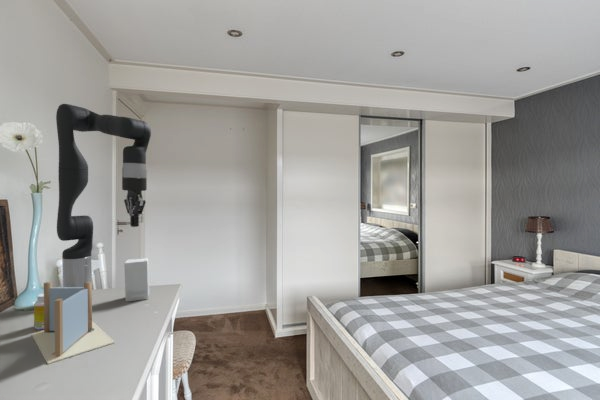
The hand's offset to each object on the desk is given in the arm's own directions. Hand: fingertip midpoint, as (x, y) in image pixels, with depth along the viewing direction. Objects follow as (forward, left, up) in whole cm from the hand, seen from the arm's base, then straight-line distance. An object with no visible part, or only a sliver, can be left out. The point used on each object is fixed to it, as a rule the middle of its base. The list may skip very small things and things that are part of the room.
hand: (134, 226), depth 109 cm
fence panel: (+10, -20, -30) cm, 38 cm away
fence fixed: (0, -19, -31) cm, 36 cm away
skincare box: (-16, +7, -31) cm, 36 cm away
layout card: (+6, -19, -31) cm, 37 cm away
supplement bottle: (-10, -23, -31) cm, 40 cm away
